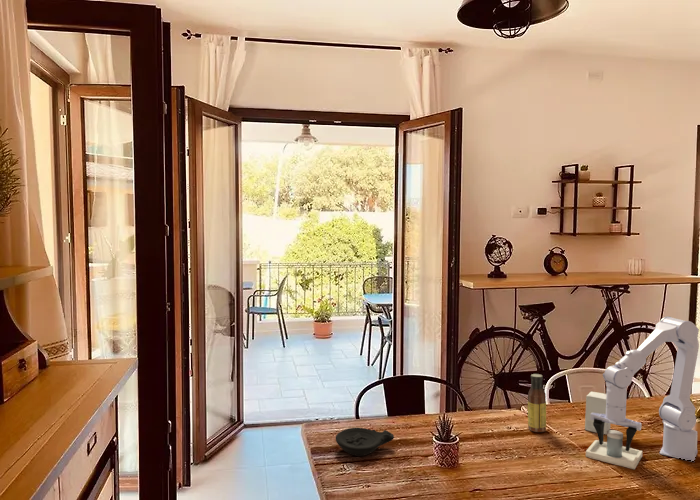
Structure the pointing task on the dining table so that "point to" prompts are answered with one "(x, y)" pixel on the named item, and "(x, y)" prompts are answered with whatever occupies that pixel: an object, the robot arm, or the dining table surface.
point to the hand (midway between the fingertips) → (614, 446)
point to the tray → (600, 453)
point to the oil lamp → (362, 440)
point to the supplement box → (595, 410)
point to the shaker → (614, 443)
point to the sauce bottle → (536, 405)
